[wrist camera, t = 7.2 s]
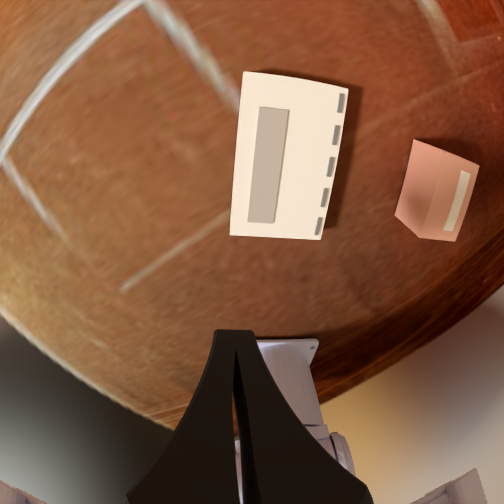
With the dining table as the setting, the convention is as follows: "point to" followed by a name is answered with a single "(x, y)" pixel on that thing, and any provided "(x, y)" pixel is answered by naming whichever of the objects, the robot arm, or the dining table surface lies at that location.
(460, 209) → the pink rectangular block
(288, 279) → the dining table surface
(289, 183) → the white slotted panel
